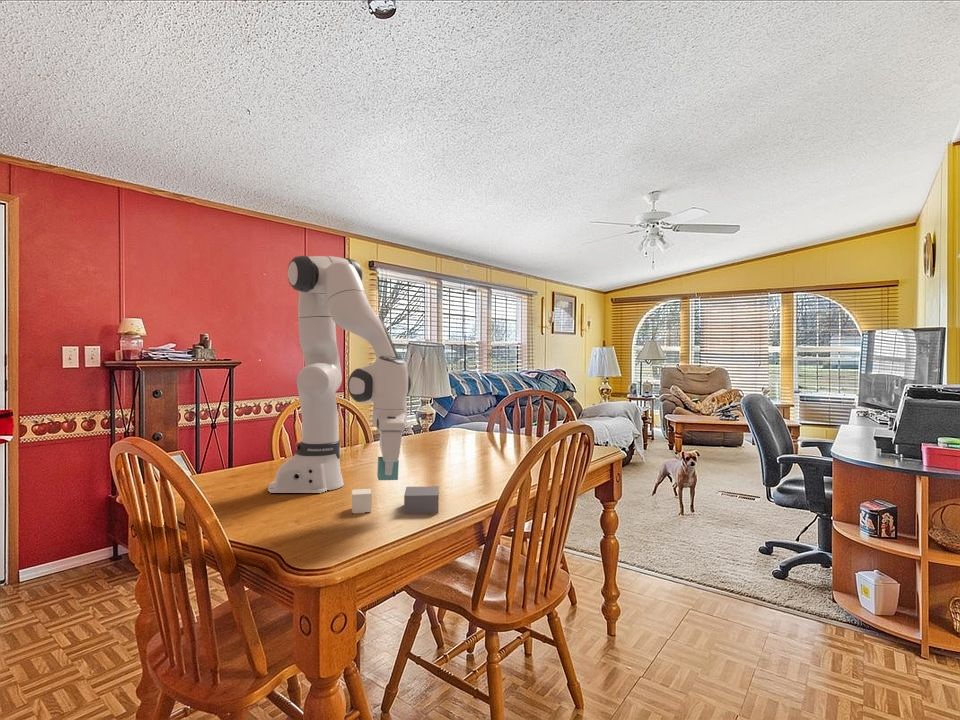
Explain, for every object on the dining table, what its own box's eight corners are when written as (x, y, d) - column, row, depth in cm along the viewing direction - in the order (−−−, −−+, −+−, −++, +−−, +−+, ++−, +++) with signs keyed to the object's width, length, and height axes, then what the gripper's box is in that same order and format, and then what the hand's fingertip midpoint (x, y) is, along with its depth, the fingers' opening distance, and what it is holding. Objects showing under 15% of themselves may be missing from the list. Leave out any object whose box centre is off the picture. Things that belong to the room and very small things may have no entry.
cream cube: (351, 513, 140) (352, 494, 140) (352, 507, 145) (352, 489, 145) (371, 512, 141) (371, 493, 141) (370, 506, 146) (370, 488, 146)
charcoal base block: (404, 514, 140) (404, 495, 140) (406, 504, 149) (406, 486, 149) (438, 514, 141) (438, 495, 141) (438, 504, 150) (438, 486, 150)
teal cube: (378, 480, 136) (378, 460, 136) (377, 475, 141) (378, 456, 141) (397, 480, 137) (398, 460, 137) (396, 475, 142) (397, 456, 142)
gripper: (375, 413, 148) (373, 462, 148) (379, 424, 128) (376, 481, 128) (398, 413, 149) (396, 462, 150) (405, 424, 129) (403, 481, 130)
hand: (387, 471), depth 139 cm, fingers closed on teal cube, 5 cm apart
